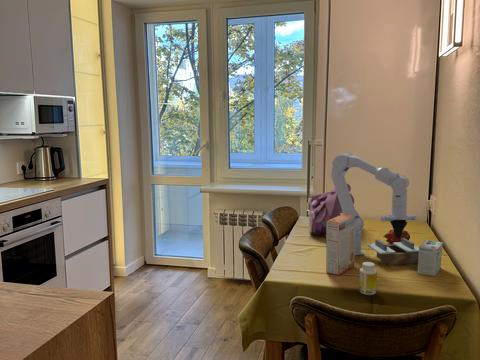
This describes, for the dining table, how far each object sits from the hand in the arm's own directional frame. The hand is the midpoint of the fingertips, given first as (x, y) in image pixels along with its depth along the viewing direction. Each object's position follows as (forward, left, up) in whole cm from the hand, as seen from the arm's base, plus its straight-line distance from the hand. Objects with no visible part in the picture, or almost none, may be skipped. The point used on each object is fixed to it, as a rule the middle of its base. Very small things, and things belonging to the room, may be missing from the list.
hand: (397, 237), depth 180 cm
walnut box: (+1, 0, -10) cm, 10 cm away
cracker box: (-27, -6, -10) cm, 29 cm away
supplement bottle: (-26, -29, -10) cm, 40 cm away
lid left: (-7, 0, -5) cm, 9 cm away
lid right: (+4, 0, -5) cm, 6 cm away
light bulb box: (+7, -13, -10) cm, 18 cm away
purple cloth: (-11, +48, -10) cm, 50 cm away
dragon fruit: (+11, +21, -10) cm, 26 cm away
